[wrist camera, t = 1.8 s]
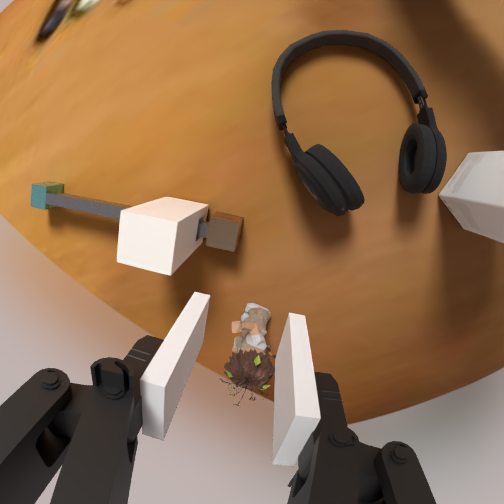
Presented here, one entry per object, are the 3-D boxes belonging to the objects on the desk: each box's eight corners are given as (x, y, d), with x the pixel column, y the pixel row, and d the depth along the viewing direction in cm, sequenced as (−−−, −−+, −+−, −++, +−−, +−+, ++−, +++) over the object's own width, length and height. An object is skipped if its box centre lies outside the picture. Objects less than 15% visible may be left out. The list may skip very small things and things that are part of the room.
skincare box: (461, 229, 31) (542, 266, 17) (434, 192, 31) (520, 214, 16) (493, 184, 29) (576, 202, 14) (468, 147, 29) (554, 147, 14)
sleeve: (161, 233, 34) (116, 261, 24) (166, 196, 33) (120, 210, 22) (202, 242, 34) (170, 275, 23) (208, 204, 33) (177, 222, 22)
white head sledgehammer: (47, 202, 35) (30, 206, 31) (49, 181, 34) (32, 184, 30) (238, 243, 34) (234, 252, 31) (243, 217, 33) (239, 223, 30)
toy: (242, 285, 36) (221, 358, 21) (284, 303, 36) (288, 383, 22) (223, 325, 37) (196, 407, 23) (263, 342, 38) (255, 428, 23)
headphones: (310, 225, 25) (248, 33, 24) (305, 223, 33) (256, 65, 31) (469, 185, 23) (398, 13, 21) (437, 189, 30) (382, 43, 29)
